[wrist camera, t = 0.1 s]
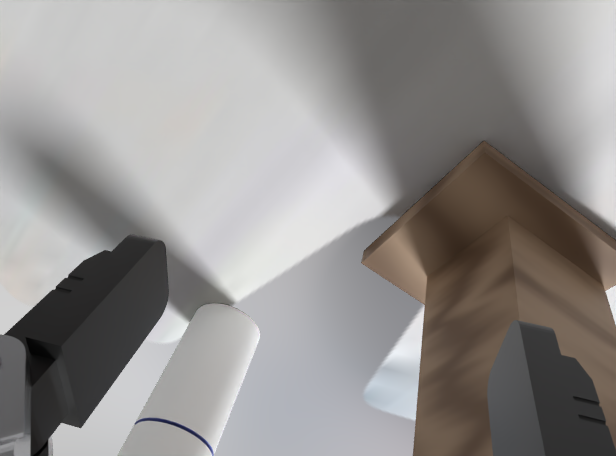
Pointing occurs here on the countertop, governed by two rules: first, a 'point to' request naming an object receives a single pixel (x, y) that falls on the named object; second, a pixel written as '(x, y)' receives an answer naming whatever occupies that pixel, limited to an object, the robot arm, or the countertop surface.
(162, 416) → the cylindrical container
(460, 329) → the stand
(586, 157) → the countertop surface
